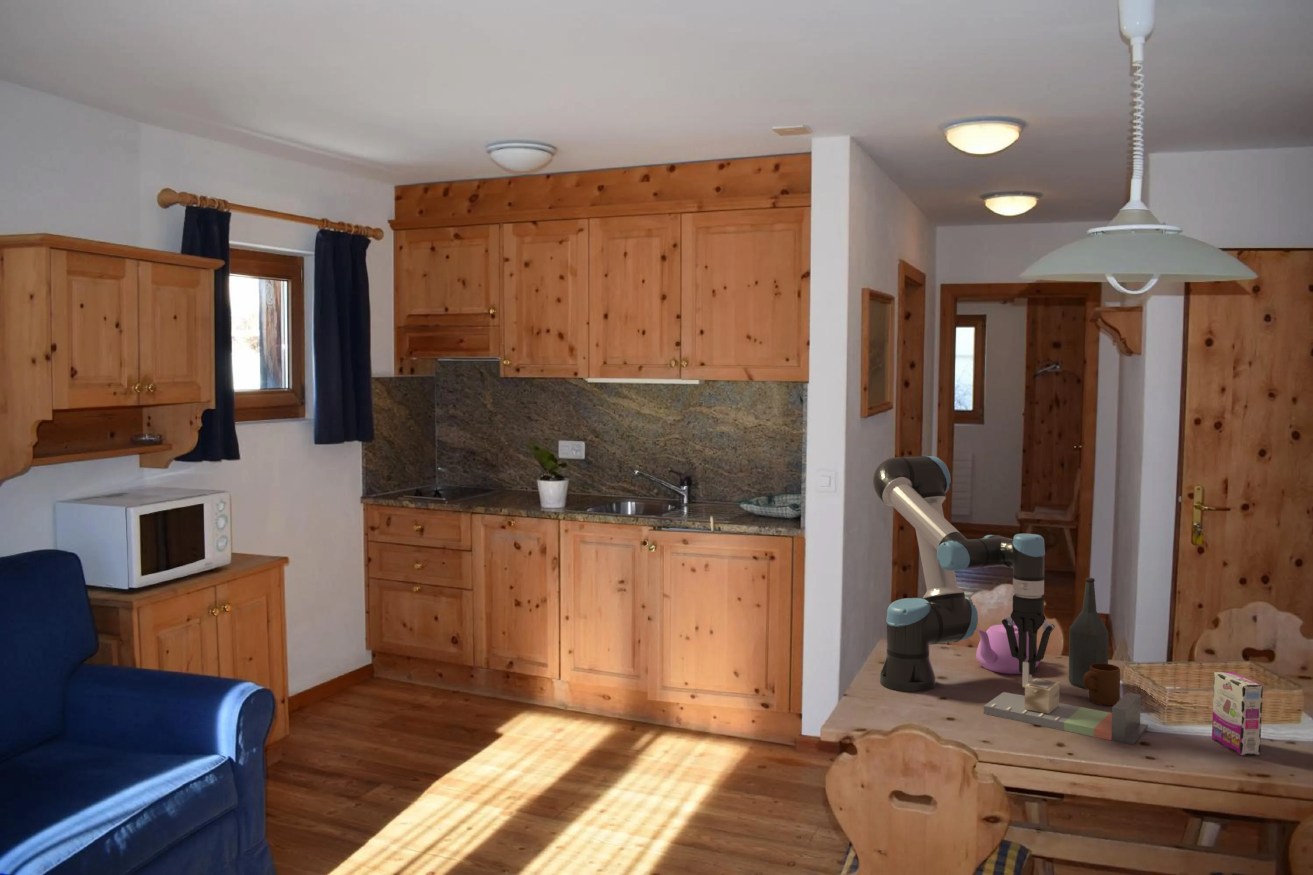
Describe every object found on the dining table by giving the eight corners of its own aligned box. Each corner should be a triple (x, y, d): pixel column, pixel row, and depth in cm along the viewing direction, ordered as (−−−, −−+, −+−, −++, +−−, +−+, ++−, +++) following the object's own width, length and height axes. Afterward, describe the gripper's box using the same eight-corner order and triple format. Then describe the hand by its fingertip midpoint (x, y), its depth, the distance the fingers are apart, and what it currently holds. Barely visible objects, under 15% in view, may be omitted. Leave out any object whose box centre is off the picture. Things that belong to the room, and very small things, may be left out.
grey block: (1111, 740, 244) (1112, 707, 243) (1127, 723, 255) (1127, 692, 254) (1132, 744, 241) (1133, 711, 240) (1147, 727, 252) (1148, 695, 251)
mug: (1096, 711, 264) (1097, 675, 263) (1071, 702, 271) (1071, 668, 270) (1126, 703, 270) (1126, 668, 269) (1100, 695, 277) (1101, 661, 276)
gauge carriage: (1021, 710, 258) (1022, 686, 257) (1035, 700, 266) (1035, 677, 265) (1046, 715, 254) (1046, 691, 254) (1058, 705, 262) (1059, 681, 262)
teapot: (1006, 653, 317) (1007, 609, 316) (1057, 667, 303) (1058, 621, 302) (953, 667, 303) (953, 622, 302) (1003, 682, 288) (1004, 634, 287)
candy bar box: (1261, 755, 234) (1264, 685, 233) (1241, 756, 233) (1243, 685, 232) (1230, 737, 245) (1232, 670, 244) (1210, 738, 244) (1212, 671, 243)
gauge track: (983, 713, 263) (983, 704, 263) (1003, 699, 274) (1003, 690, 274) (1111, 740, 244) (1111, 730, 244) (1127, 723, 255) (1127, 714, 255)
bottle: (1090, 677, 293) (1092, 573, 290) (1115, 687, 283) (1118, 580, 281) (1060, 680, 289) (1062, 575, 287) (1084, 691, 280) (1087, 582, 278)
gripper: (997, 594, 262) (996, 684, 264) (1049, 601, 254) (1048, 694, 256) (1008, 589, 268) (1007, 677, 270) (1059, 595, 260) (1057, 687, 261)
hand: (1027, 685), depth 263 cm, fingers closed
